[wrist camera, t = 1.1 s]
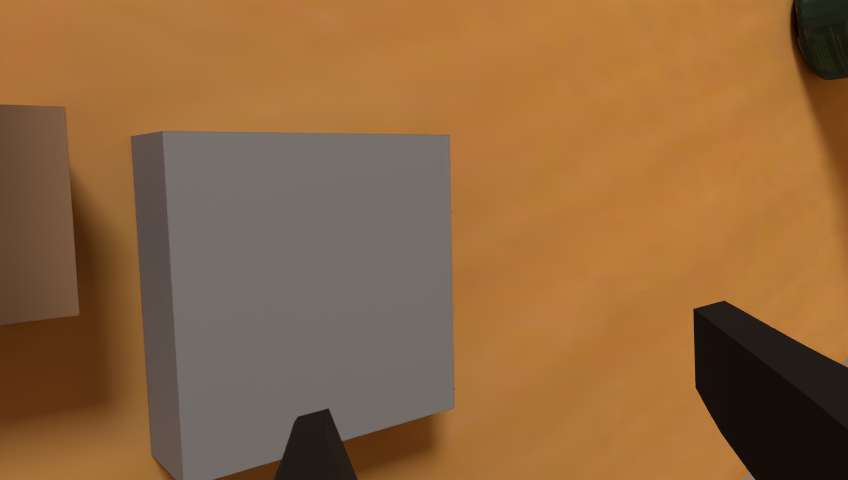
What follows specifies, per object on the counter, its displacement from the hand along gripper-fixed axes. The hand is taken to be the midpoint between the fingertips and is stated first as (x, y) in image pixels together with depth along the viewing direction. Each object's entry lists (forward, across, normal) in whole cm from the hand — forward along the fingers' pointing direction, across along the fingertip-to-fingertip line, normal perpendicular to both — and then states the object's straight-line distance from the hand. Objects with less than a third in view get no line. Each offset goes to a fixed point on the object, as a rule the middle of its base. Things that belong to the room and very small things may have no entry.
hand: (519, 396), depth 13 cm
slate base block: (+11, +6, +3) cm, 13 cm away
